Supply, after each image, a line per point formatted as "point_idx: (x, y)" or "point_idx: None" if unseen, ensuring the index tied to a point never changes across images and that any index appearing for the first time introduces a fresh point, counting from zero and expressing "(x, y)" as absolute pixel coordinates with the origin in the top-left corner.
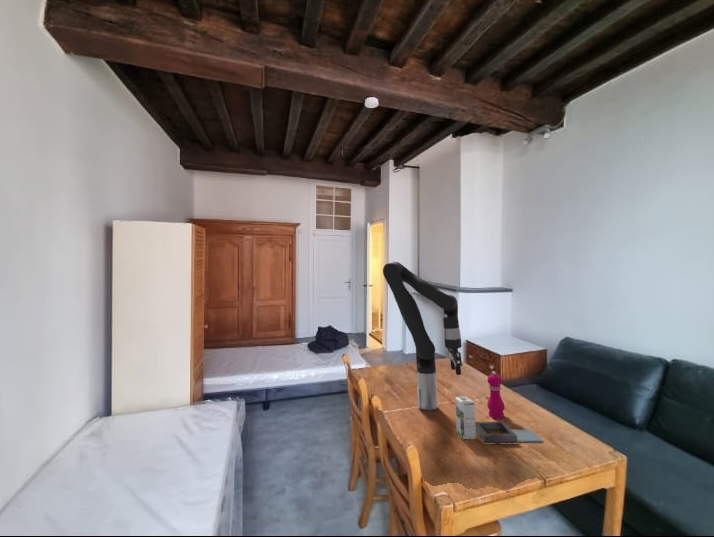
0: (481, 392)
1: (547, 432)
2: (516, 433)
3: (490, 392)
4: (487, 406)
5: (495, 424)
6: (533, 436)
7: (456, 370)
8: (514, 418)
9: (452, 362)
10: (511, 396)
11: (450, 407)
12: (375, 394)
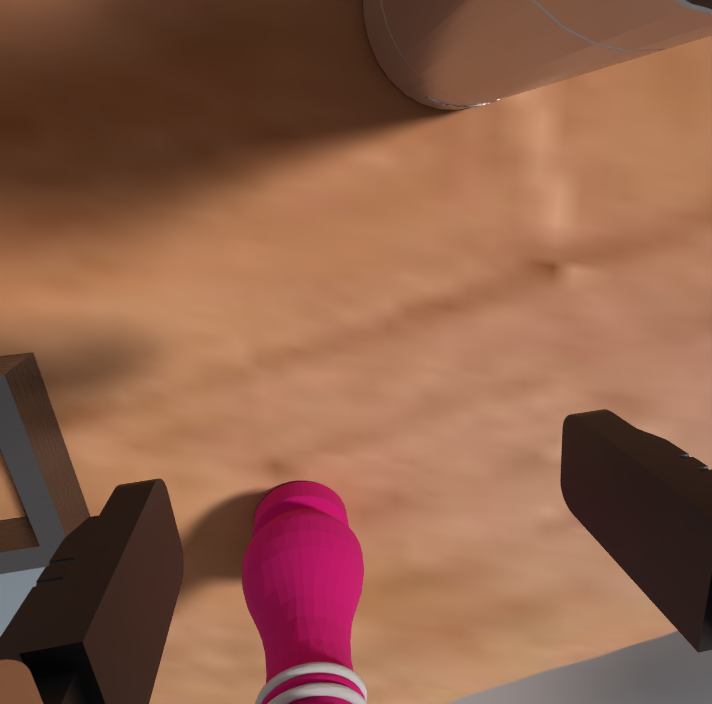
0: None
1: None
2: (24, 581)
3: (304, 634)
4: (305, 515)
5: (28, 508)
6: None
7: (80, 563)
8: None
9: (696, 562)
10: (607, 631)
11: (443, 234)
12: None
